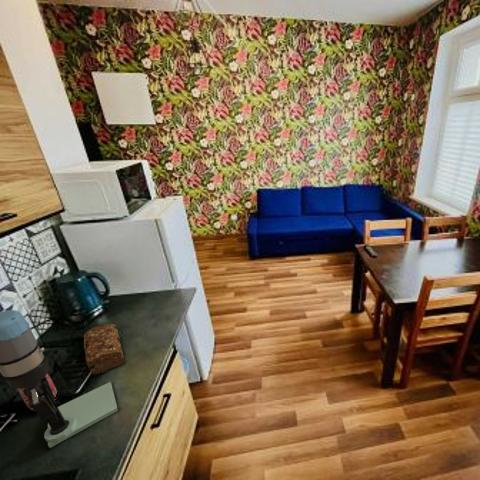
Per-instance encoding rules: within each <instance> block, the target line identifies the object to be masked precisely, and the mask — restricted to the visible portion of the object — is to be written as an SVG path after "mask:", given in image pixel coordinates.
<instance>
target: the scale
mask: <svg viewBox="0 0 480 480" xmlns="http://www.w3.org/2000/svg"><path fill="white" fill-rule="evenodd" d="M57 407H58V408H59V410H60V412H61V414H62V416H63V418H64V419H65V420H67V422H68V424H69V425H68V427H67V428H66V429H65V430H64V431H63V432H61V433H59V434H56V435H53V434H52V433H51V427H50V425H49V424H48V423H47V429H46V430H45V432H44V437H43V438H44V440H45V441H46V442H47V446H48V448H49V449H51V448H53V447H54V446H57V445H58V444H60V443H62V442H64V441H66V440H67V439H69V438H71V437H73V436H74V435H77V434H79V433H80V432H82V431H84V430H86V429H87V428H89V427H91V426H93V425H95V424H96V423H99V422H100V421H103V420H104V419H106V418H107V417H109V416H111V415H112V414H113V415H114V413H116V412H118V411H119V410H118V406H117V401H116V398H115V393H114V389H113V385H112V381H109V382H107V383H105V384H102V385H101V386H99V387H97V388H94V389H92V390H90V391H88V392H86V393H84V394H82V395H80V396H78V397H76V398H73V399H72V400H69V401H68V402H66V403H63V404H61V405H59V406H57Z"/></svg>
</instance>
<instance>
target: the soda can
mask: <svg viewBox="0 0 480 480" xmlns="http://www.w3.org/2000/svg"><path fill="white" fill-rule="evenodd" d="M46 378H47V381H48V383H49V385H50V387H51V390H52V392H53V394H54V396H55V397H56V394H57V392H58V390H57V388H56V386H55V384H54V382H53V380H52V378H51V376H50V375H49V373H48V374H47V375H46ZM17 392H18V393H19V396H20V397H21V398H22V400H23V402H24V403H25V406H26V407H27V408H28V409H29V410H30V411H32V412H35V410H34V409H33V408H31V407H30V406H29V405H28V404H29V402H30V401H31V400H30V399H29V397H28V396H26V395H25V393H24V388H21V389H17ZM57 399H58V397H57V398H56V399H54V400H55V401H57Z"/></svg>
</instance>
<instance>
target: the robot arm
mask: <svg viewBox="0 0 480 480" xmlns="http://www.w3.org/2000/svg"><path fill="white" fill-rule="evenodd" d="M44 351H45V347H40V345H39V342H38V341H37V339H36V336H35V334H34V333H33V331H32V329H31V327H30V324H29V321H27V319H26V318H25V317H24V316H23V313H22V312H21V311H19V310H15V309H9V310H4V311H1V312H0V374H1V375H2V377H4V380H5V381H6V383H7V384H8V386H9V387H10V388H11V389H14V390H18V389H21V388H24V393H25V395H26V396H28V397H29V399H30V400H31V401H30V402H29V404H28V405H29V406H30V407H31V408H33V409H34V410H35V411H34V412H35V413H36V414H37V415H38V417H39V420H42V421H43V422H44V421H46V422H47V425H48V424H49V425H50V427H51V429H52V430H53V431H54V430H55V429H57V428H59V427H61V426H63V425H65V419H64V418H63V416H62V414H61V412H60V410H59V408H58V407H59V406H58V405H60V403H61V402H60V400H59V399H58V400H54V399H55V396H54V394H53V392H52V390H51V387H50V385H49V383H48V381H47V378H46V375H47V374H48V375H49V373H50V370H51V366H50V364H49V362H48V360H47V357H45V355H44V353H43V352H44Z"/></svg>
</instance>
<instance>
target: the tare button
mask: <svg viewBox="0 0 480 480" xmlns="http://www.w3.org/2000/svg"><path fill="white" fill-rule="evenodd" d="M68 425H69V424H68V422H67V420H65V425H63V426H61V427H59V428H57V429H55V430H54V431H53V430H52V429H51V433H52V434H53V435H56V434H59V433H61V432H63V431H64V430H65V429H66V428H67V427H68Z"/></svg>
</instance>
